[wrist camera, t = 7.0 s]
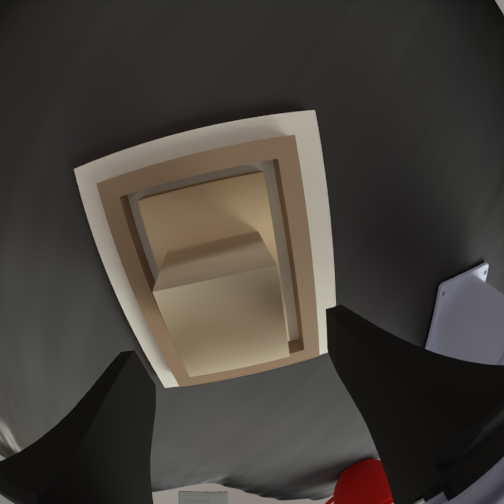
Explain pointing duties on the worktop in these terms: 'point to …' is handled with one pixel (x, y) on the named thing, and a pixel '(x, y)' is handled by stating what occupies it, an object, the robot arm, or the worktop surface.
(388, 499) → the ceramic cup
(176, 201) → the flange block
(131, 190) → the keyed base
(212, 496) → the small box
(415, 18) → the worktop surface
